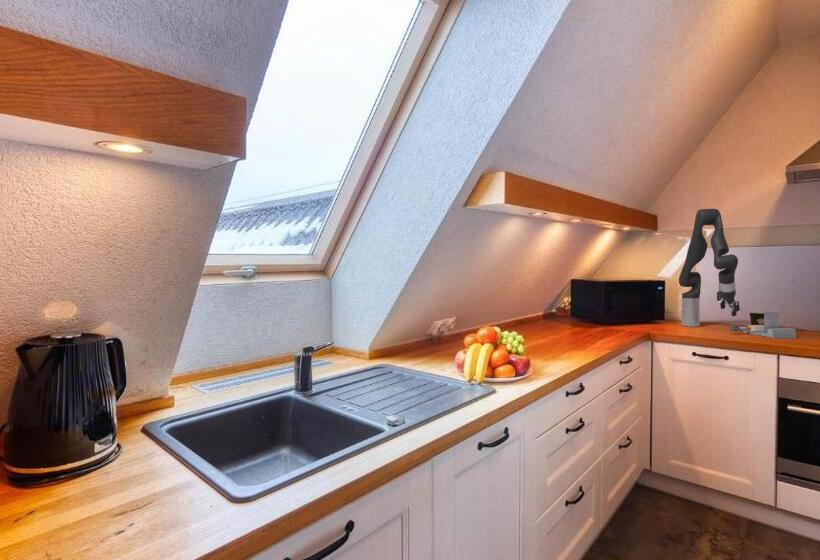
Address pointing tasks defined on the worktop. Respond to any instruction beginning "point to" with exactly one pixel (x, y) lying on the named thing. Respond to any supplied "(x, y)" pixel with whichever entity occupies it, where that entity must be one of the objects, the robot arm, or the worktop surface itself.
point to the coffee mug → (757, 318)
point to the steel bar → (771, 321)
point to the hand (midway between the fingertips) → (728, 312)
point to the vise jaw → (747, 328)
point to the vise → (775, 333)
